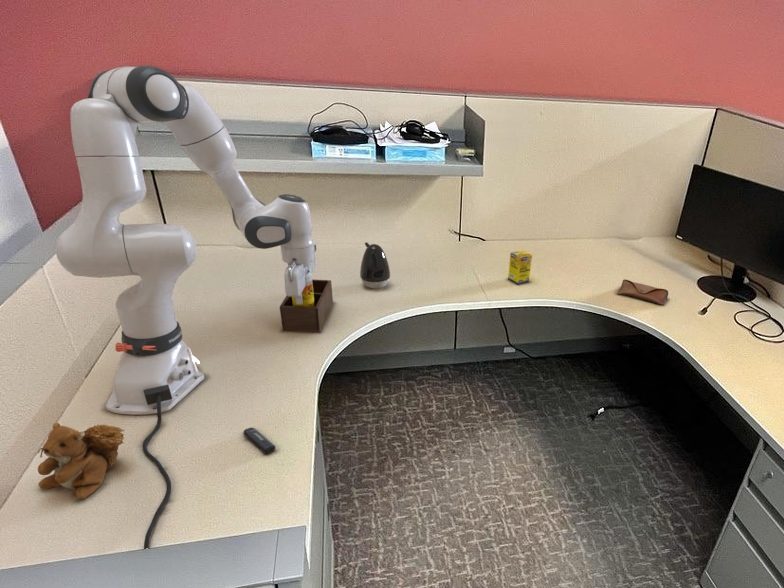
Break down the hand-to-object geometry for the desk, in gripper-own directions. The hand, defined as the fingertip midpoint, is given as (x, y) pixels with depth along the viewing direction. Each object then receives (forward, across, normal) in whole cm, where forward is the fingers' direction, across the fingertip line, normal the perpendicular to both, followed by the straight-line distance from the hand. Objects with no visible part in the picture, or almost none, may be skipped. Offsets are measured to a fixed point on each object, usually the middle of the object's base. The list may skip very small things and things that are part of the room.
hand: (303, 297), depth 166 cm
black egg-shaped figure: (+9, +31, -17) cm, 36 cm away
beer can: (+7, 0, 0) cm, 7 cm away
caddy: (+9, +5, 0) cm, 10 cm away
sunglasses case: (+9, +34, -115) cm, 120 cm away
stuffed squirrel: (+9, -66, +26) cm, 72 cm away
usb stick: (+9, -55, -3) cm, 56 cm away
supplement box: (+9, +42, -68) cm, 81 cm away
